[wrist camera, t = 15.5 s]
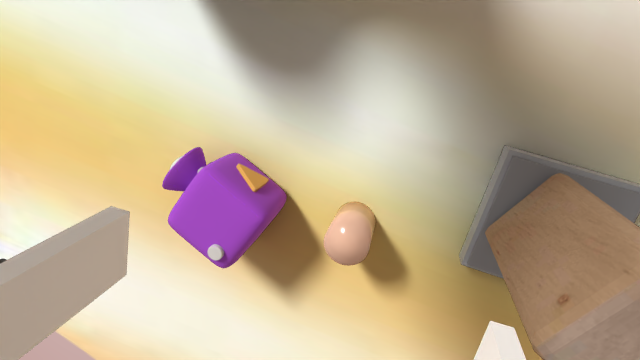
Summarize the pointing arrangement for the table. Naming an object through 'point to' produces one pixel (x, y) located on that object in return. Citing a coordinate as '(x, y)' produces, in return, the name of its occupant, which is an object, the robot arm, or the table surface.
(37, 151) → the table surface
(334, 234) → the peach rounded capsule part
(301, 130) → the table surface
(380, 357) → the table surface
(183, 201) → the toy camera
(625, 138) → the table surface
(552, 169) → the stand
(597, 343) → the wooden block
